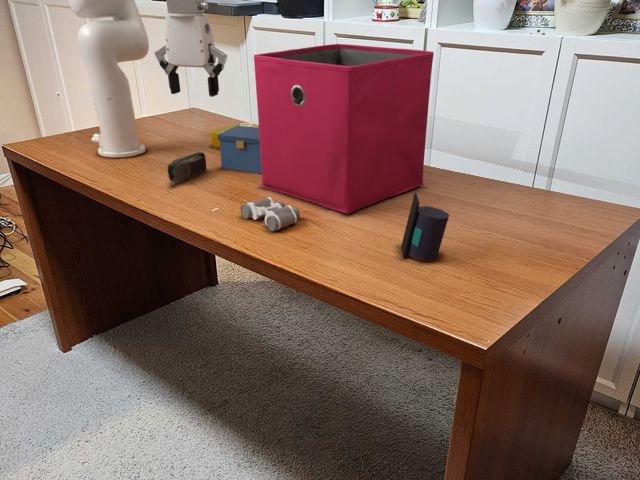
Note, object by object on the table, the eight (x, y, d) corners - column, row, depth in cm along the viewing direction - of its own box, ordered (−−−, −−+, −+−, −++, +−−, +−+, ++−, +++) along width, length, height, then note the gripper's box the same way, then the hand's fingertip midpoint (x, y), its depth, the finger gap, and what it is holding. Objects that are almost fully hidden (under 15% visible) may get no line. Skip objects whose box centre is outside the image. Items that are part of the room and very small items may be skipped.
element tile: (208, 146, 168) (207, 129, 166) (247, 137, 178) (246, 120, 175) (245, 156, 160) (244, 138, 157) (283, 145, 170) (283, 128, 167)
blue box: (219, 169, 150) (216, 135, 145) (239, 158, 159) (236, 125, 154) (264, 174, 146) (263, 139, 142) (282, 163, 155) (281, 129, 150)
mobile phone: (196, 149, 148) (161, 164, 136) (207, 151, 147) (172, 165, 135) (198, 170, 150) (163, 185, 138) (209, 171, 149) (174, 187, 137)
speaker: (392, 257, 105) (403, 200, 100) (401, 246, 110) (412, 191, 104) (433, 268, 103) (447, 211, 98) (440, 257, 108) (454, 202, 102)
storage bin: (255, 188, 138) (247, 52, 122) (336, 162, 155) (338, 41, 140) (346, 218, 122) (350, 66, 106) (425, 186, 139) (439, 51, 124)
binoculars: (240, 216, 122) (239, 199, 120) (271, 207, 127) (270, 191, 125) (275, 233, 115) (275, 216, 113) (307, 223, 119) (307, 206, 117)
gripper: (230, 7, 126) (236, 93, 135) (159, 5, 130) (169, 89, 140) (214, 9, 120) (221, 99, 129) (140, 7, 125) (152, 95, 134)
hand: (194, 94), depth 135 cm, fingers open, 9 cm apart
